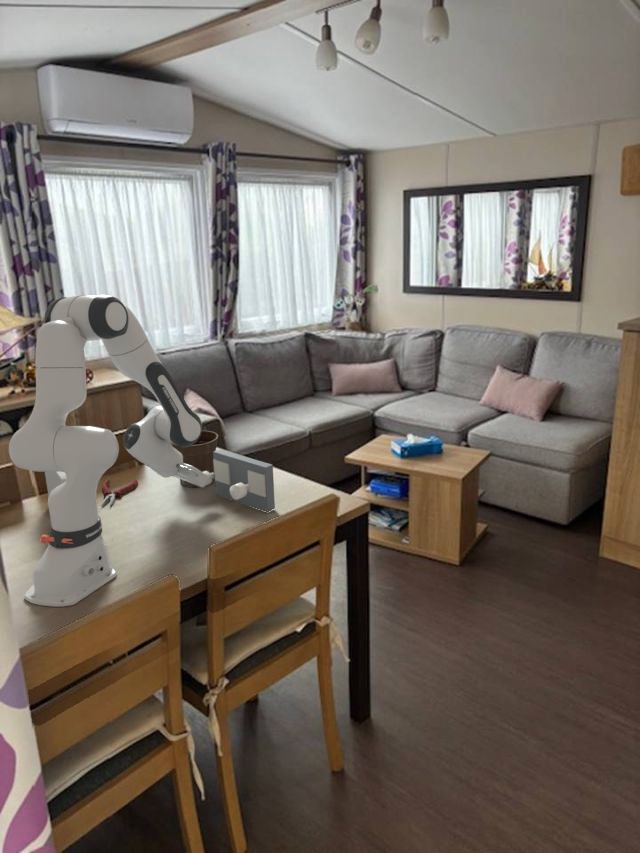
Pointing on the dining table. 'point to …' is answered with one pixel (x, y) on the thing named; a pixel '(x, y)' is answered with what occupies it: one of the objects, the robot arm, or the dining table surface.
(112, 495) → the pliers
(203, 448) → the plant pot
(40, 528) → the dining table surface
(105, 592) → the dining table surface
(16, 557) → the dining table surface
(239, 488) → the knob right
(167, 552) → the dining table surface
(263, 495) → the mount
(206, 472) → the knob left
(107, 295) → the robot arm
